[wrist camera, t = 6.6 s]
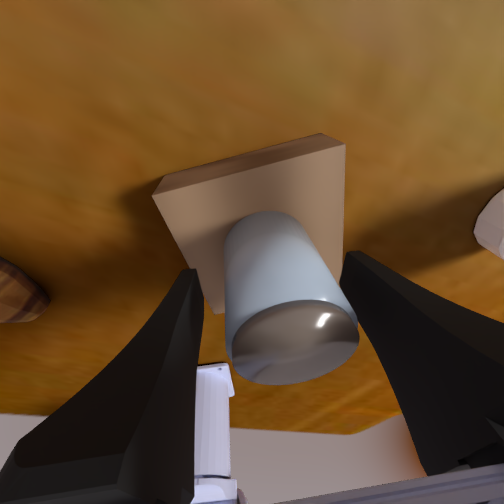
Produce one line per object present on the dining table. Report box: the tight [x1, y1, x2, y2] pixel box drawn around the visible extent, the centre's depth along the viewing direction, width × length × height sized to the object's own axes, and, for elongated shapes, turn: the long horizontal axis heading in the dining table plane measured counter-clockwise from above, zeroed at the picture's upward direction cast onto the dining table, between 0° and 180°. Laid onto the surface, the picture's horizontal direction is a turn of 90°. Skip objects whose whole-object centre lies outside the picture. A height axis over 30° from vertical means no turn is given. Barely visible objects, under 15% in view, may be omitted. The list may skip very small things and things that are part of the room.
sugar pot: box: [224, 211, 359, 385], centre depth 10 cm, size 5×5×6 cm
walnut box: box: [152, 133, 346, 315], centre depth 14 cm, size 9×9×3 cm
